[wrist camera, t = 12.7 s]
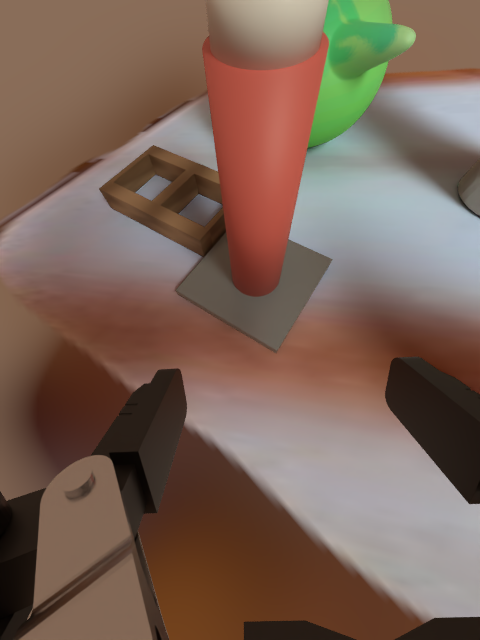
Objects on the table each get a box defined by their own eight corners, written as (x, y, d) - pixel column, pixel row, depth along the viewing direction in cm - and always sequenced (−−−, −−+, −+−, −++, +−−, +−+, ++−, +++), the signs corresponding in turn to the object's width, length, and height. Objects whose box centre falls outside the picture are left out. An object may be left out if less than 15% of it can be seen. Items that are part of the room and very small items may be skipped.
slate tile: (239, 222, 26) (239, 216, 25) (329, 264, 23) (332, 259, 23) (178, 294, 23) (175, 290, 22) (276, 353, 20) (277, 350, 19)
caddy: (111, 207, 28) (99, 188, 25) (160, 165, 31) (153, 145, 28) (204, 257, 24) (199, 240, 22) (249, 204, 27) (249, 184, 25)
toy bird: (354, 109, 34) (423, -91, 21) (358, 186, 28) (461, -33, 14) (236, 103, 36) (228, -85, 23) (213, 174, 30) (183, -31, 16)
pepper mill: (248, 249, 24) (244, -85, 8) (288, 268, 22) (376, -77, 7) (222, 282, 22) (156, -46, 6) (264, 305, 21) (304, -27, 5)
